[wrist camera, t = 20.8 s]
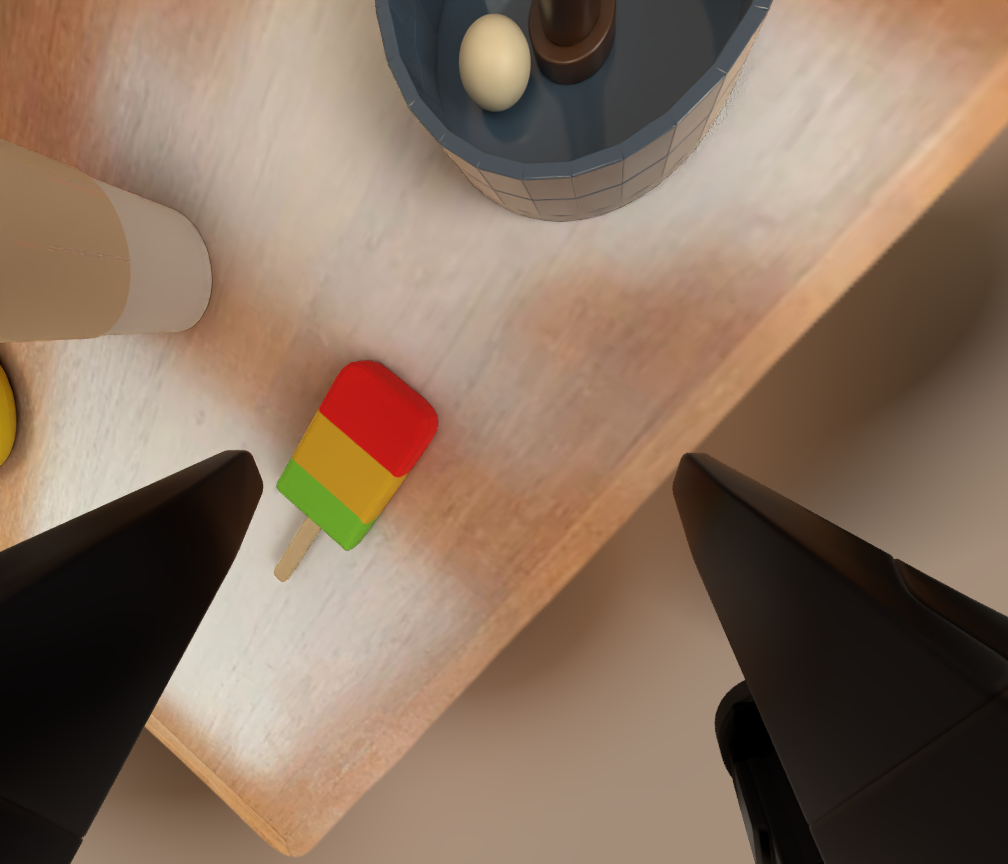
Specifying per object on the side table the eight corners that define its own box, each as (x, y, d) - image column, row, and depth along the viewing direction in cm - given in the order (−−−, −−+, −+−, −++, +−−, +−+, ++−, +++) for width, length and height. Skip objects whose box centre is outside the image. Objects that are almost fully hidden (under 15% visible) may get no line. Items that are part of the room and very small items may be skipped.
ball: (526, 14, 14) (521, -9, 12) (537, 105, 16) (533, 98, 14) (458, 35, 15) (442, 17, 13) (475, 121, 16) (462, 117, 14)
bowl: (730, -235, 13) (789, -526, 8) (766, 165, 15) (830, 89, 10) (405, -47, 16) (331, -188, 12) (467, 256, 18) (422, 227, 14)
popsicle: (451, 416, 20) (435, 423, 18) (323, 598, 25) (300, 618, 23) (370, 349, 20) (346, 349, 19) (259, 541, 25) (232, 556, 23)
